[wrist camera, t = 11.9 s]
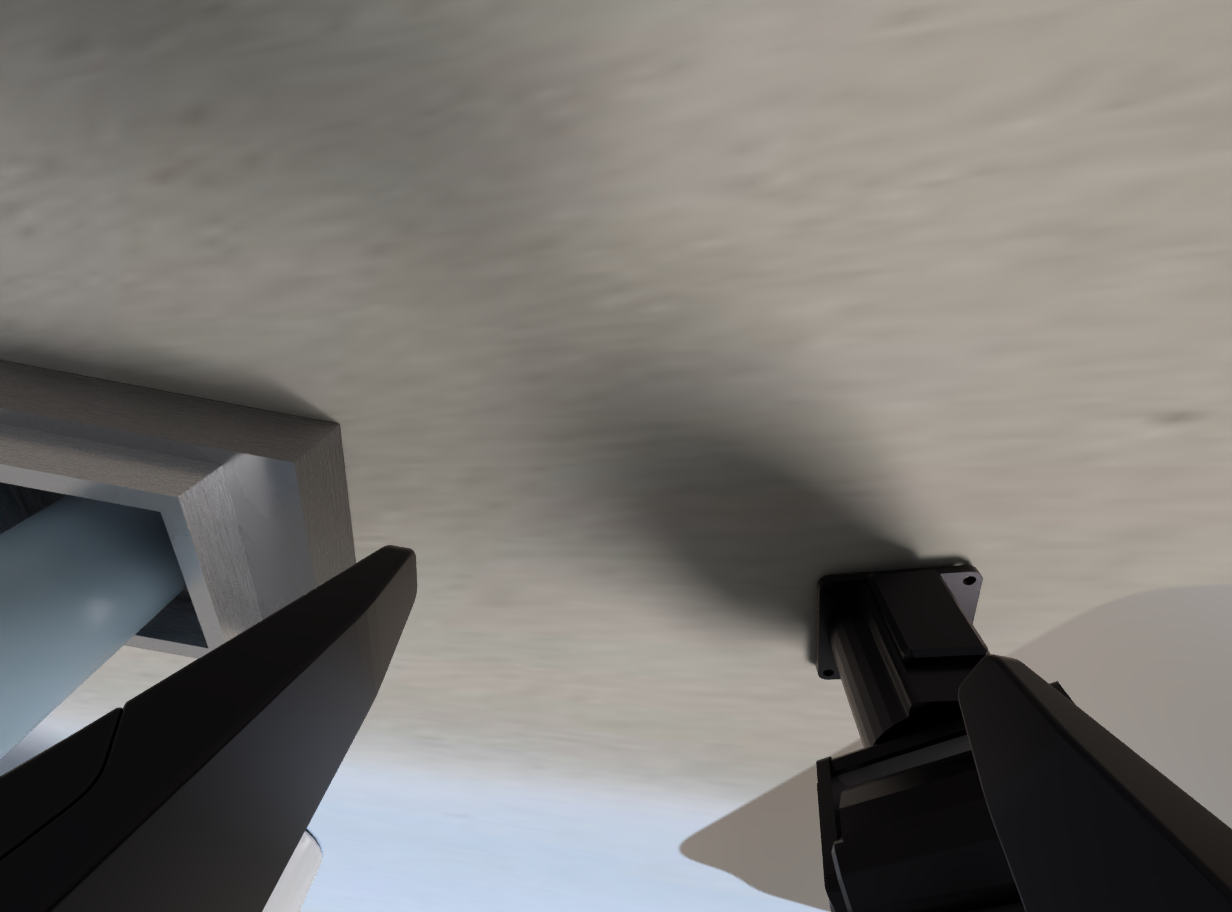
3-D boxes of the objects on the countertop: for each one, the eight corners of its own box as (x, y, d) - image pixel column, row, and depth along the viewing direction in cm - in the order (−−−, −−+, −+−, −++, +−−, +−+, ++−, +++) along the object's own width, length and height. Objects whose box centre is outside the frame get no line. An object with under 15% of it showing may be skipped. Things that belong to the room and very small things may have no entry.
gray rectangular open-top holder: (339, 424, 21) (256, 494, 17) (360, 598, 26) (300, 686, 22) (-9, 358, 21) (-184, 413, 16) (80, 547, 26) (-36, 626, 22)
